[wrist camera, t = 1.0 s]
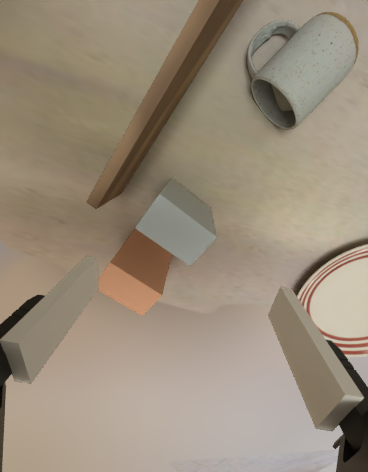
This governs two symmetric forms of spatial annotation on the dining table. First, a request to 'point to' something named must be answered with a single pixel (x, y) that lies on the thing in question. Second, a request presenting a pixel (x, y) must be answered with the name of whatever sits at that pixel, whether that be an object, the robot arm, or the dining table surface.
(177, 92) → the brown wooden board
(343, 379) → the robot arm
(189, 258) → the light grey rectangular block
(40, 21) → the dining table surface
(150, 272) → the tan rectangular block
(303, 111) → the ceramic mug
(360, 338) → the dinner plate
